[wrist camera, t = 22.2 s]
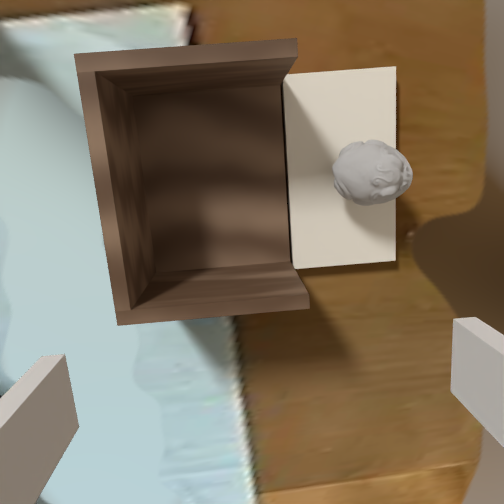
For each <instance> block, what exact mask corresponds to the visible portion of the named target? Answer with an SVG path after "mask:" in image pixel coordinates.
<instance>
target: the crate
mask: <svg viewBox="0 0 504 504" xmlns="http://www.w3.org/2000/svg"><path fill="white" fill-rule="evenodd" d="M297 57H298V49H297V38H291V39H277V40H263V41H249V42H235V43H220V44H206V45H192V46H178V47H164V48H150V49H135V50H121V51H107V52H93V53H79V54H74V58H75V64H76V70H77V76H78V82H79V89H80V95H81V101H82V107H83V114H84V120H85V126H86V132H87V138H88V144H89V150H90V157H91V163H92V169H93V176H94V181H95V188H96V194H97V200H98V206H99V213H100V219H101V226H102V232H103V238H104V244H105V250H106V257H107V263H108V269H109V275H110V281H111V288H112V294H113V300H114V306H115V313H116V319H117V325H118V326H119V325H131V324H142V323H153V322H165V321H176V320H187V319H198V318H210V317H221V316H232V315H243V314H255V313H266V312H277V311H288V310H300V309H310V302H309V293H308V292H307V290H306V288H305V286H304V284H303V283H302V281H301V279H300V277H299V276H298V274H297V272H296V270H295V269H294V267H293V265H292V263H291V262H290V248H289V230H288V213H287V195H286V178H285V161H284V143H283V126H282V108H281V91H280V85H281V83H282V81H283V80H284V78H285V77H286V75H287V73H288V72H289V70H290V69H291V67H292V65H293V64H294V62H295V61H296V59H297Z"/></svg>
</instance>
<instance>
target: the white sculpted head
mask: <svg viewBox="0 0 504 504" xmlns="http://www.w3.org/2000/svg"><path fill="white" fill-rule="evenodd" d="M332 170H333V175H334V177H335V179H334V188H335V189H336V190H337V191H338V193H339V194H340V195H341V196H342V197H344V198H346V199H347V200H351V199H352V200H353V202H354V203H355V204H358V205H362V206H370V205H373V204H381V203H386V202H388V201H391V200H394V199H395V198H397V197H398V196H400V195H401V194H403V193H404V192H405V191H406V190H407V189H408V188H409V186H410V184H411V182H412V177H413V173H412V169H411V167H410V165H409V163H408V162H407V160H406V158H405V157H404V156H403V155H402V154H401V153H400V152H399V151H398V150H396V149H395V148H393V147H391V146H387V144H385V143H384V142H382V141H379V140H368V141H366V142H365V143H364V142H362V141H358V142H353V143H351V144H349V145H347V146H346V147H345V148H343V149H342V150H341V151H340V154H339V158H338V159H337V160H336V162H335V163H334V164H333V166H332Z"/></svg>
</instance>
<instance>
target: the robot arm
mask: <svg viewBox="0 0 504 504" xmlns="http://www.w3.org/2000/svg"><path fill="white" fill-rule="evenodd" d="M451 392H452V393H453V394H454V395H455V397H456V398H457V399H458V400H459V401H460V402H461V403H462V404H463V405H464V406H465V407H466V408H467V409H468V410H469V411H470V412H471V414H472V415H473V416H474V417H475V418H476V419H477V420H478V421H479V422H480V423H481V424H482V425H483V426H484V427H485V428H486V429H487V430H488V432H489V433H490V434H491V435H492V436H493V437H494V438H495V439H496V440H497V441H498V442H499V443H500V444H501V445H502V446H503V447H504V335H502V334H501V333H499V332H498V331H496V330H494V329H493V328H492V327H490V326H489V325H487V324H485V323H484V322H482V321H481V320H479V319H478V318H476V317H471V318H459V319H453V342H452V369H451ZM78 428H79V424H78V419H77V413H76V408H75V403H74V398H73V393H72V388H71V383H70V378H69V372H68V367H67V362H66V357H65V354H61V355H52V356H51V355H50V356H42V357H40V359H39V360H38V361H37V362H36V363H35V364H34V365H33V366H32V367H31V368H30V369H29V370H28V371H27V372H26V373H25V374H24V375H23V376H22V377H21V378H20V379H19V380H18V381H17V382H16V383H15V384H14V385H13V386H12V387H11V388H10V389H9V390H8V391H7V392H6V393H5V394H4V395H3V396H2V397H0V504H35V502H36V501H37V499H38V497H39V496H40V494H41V492H42V490H43V489H44V487H45V485H46V483H47V482H48V480H49V478H50V476H51V475H52V473H53V471H54V469H55V468H56V466H57V464H58V463H59V461H60V459H61V457H62V456H63V454H64V452H65V451H66V449H67V447H68V445H69V444H70V442H71V440H72V438H73V437H74V435H75V433H76V432H77V430H78Z"/></svg>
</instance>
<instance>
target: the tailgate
mask: <svg viewBox="0 0 504 504" xmlns="http://www.w3.org/2000/svg"><path fill="white" fill-rule="evenodd" d="M281 86H282V103H283V121H284V139H285V156H286V174H287V192H288V209H289V227H290V245H291V262H292V265H293V267H294V269H301V268H313V267H325V266H337V265H349V264H361V263H373V262H385V261H396V198H395V199H394V200H391V201H388V202H386V203H381V204H373V205H370V206H362V205H358V204H355V203H354V202H353V200H352V199H351V200H347V199H346V198H344V197H342V196H341V195H340V194H339V193H338V191H337V190H336V189H335V188H334V179H335V177H334V175H333V170H332V166H333V164H334V163H335V162H336V160H337V159H338V158H339V154H340V151H341V150H342V149H343V148H345V147H346V146H347V145H349V144H351V143H353V142H358V141H362V142H364V143H365V142H366V141H368V140H379V141H382V142H384V143H385V144H387V146H391V147H393V148H395V149H396V66H395V67H382V68H368V69H355V70H342V71H328V72H315V73H301V74H288V75H286V77H285V78H284V80H283V81H282V83H281Z"/></svg>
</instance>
